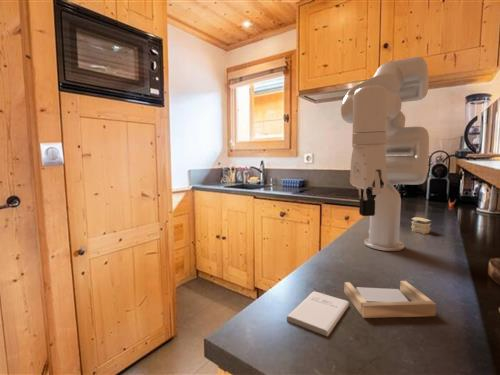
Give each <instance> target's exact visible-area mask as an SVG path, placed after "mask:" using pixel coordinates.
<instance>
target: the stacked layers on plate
mask: <svg viewBox="0 0 500 375" xmlns="http://www.w3.org/2000/svg"><path fill="white" fill-rule="evenodd" d="M411 220H412V221H411V226H410V228H411V232H413V231H414V233H420V234H429V233H430V230H431V229H432V228H431V227H430V225H432V223H430V222H431V221H432V219H431V220H430V219H427V218H423V217H417V216H416V217H415V216H414V217H412V218H411Z"/></svg>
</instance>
